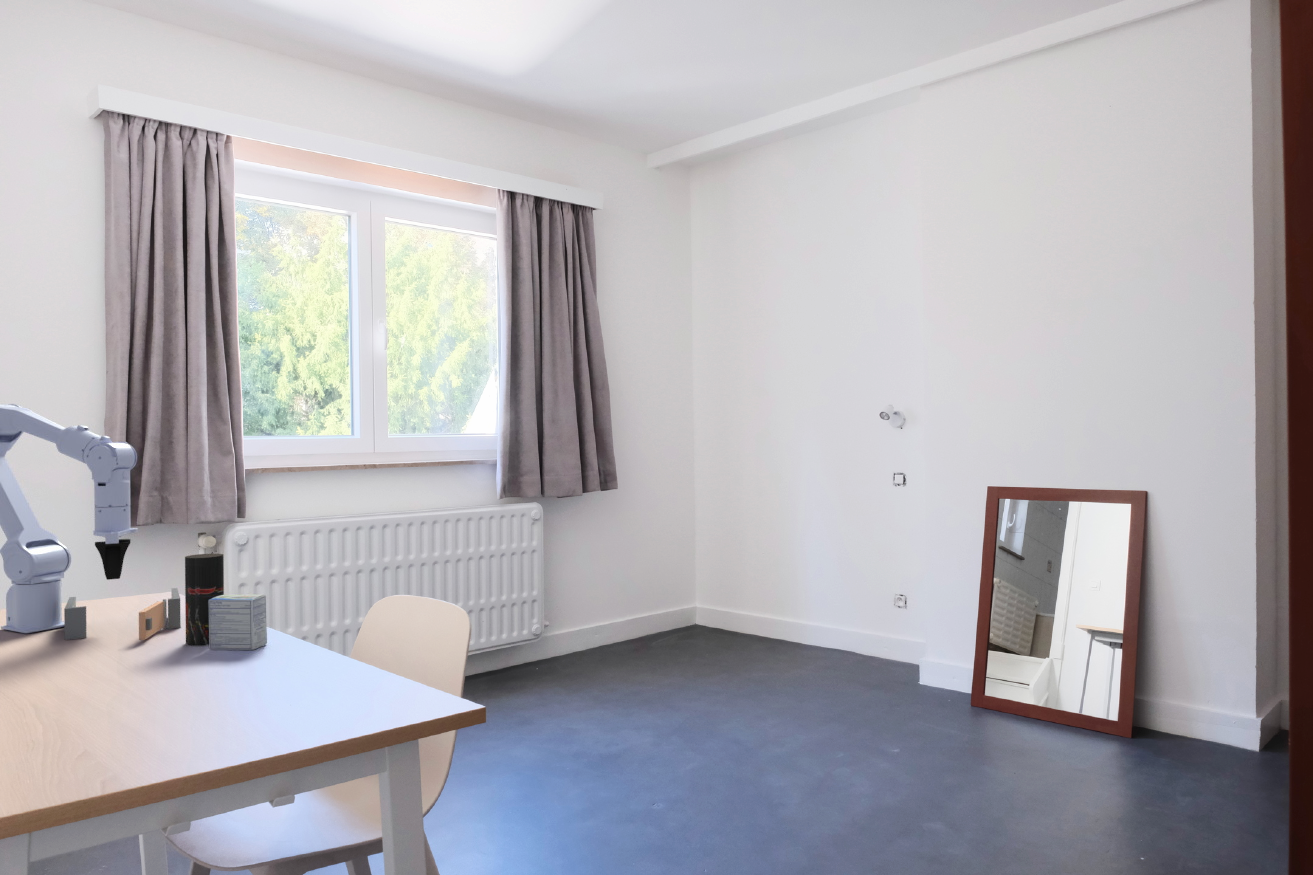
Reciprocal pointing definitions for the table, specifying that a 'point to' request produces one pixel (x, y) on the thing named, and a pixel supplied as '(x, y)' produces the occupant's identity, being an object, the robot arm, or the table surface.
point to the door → (151, 620)
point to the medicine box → (237, 622)
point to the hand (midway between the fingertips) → (113, 578)
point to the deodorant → (201, 594)
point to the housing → (77, 616)
